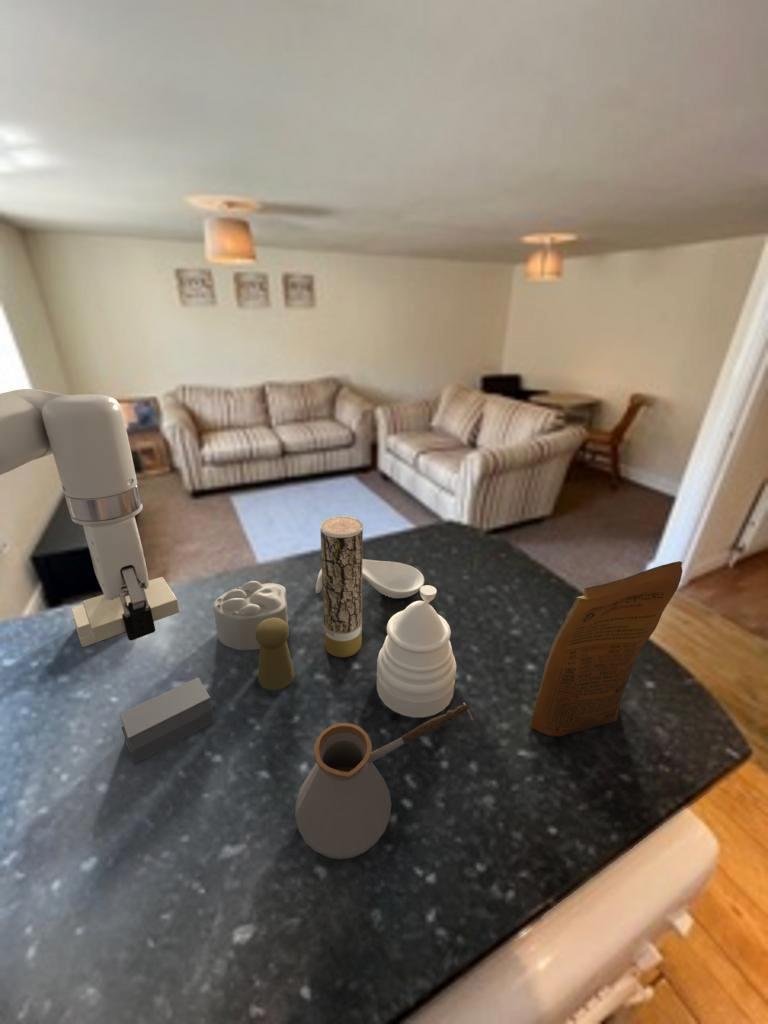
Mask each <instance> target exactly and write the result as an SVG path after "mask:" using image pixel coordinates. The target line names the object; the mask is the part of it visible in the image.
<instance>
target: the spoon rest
mask: <svg viewBox="0 0 768 1024" xmlns="http://www.w3.org/2000/svg"><path fill="white" fill-rule="evenodd" d="M362 579H364V580H366V581H367V582H368V583H369V585H371V587H373V588H374V589H375V590H376V591H377V592H378V593H379V594H381V595H383V596H385V597H387V596H388V597H387V598H390V597H391V598H390V599H405V598H408V597H411V596H414V595H415V594H417V593H418V592H420V588H421V587H422V586H424V585H425V576H424V575H423V573H422V572H421V571H420V570H419V569H417V568H416V567H414V566H412V565H409V564H406V563H403V562H398V561H385V560H376V559H375V560H374V559H364V558H362ZM322 590H323V587H322V568H321V569H320V570H319V572H318V575H317V579H316V583H315V590H314V591H315V593H316V594H319V593H321V591H322Z"/></svg>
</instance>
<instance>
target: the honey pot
mask: <svg viewBox="0 0 768 1024" xmlns="http://www.w3.org/2000/svg"><path fill="white" fill-rule="evenodd" d="M437 591H438V590H437V587H435V586H433V585H429V584H424V585H423V586H422V587H421V588H420V590H419V594H420V598H421V599H422V600H416V601H413V602H411V603H410V604H409V605H407V606H406V607H405V609H403V610H400V611H398V612H396V613H394V614H393V615H392V616H391V617H390V619H389V620H388V622H387V625H386V634H387V635H386V636H385V639H384V641H383V645H382V647H381V648H380V650H379V652H378V656H377V659H376V663H377V664H376V692H377V694H378V697H379V699H380V700H381V701H382V703H383V704H384V706H386V707H387V708H389V709H390V710H392V711H393V712H394V713H397V714H400V715H401V716H405V717H409V718H427V717H431V716H435V715H437V714H439V713H441V712H443V711H444V710H445V709H446V708H447V707H449V705H450V704H451V701H452V699H453V697H454V691H455V684H456V683H455V682H456V676H457V675H456V673H457V662H456V661H457V660H456V658H455V655H454V652H453V648H452V643H451V641H450V639H451V635H452V631H451V627H450V625H449V623H448V622H447V620H446V619H445V618H444V617H443V616H442V615H440V614H438V612H437V611H436V610H435V609H434V607H433V606H432V605H431V604H430V603H431V601H433V600H434V599H435V597H436V595H437Z"/></svg>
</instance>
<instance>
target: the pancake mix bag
mask: <svg viewBox="0 0 768 1024" xmlns="http://www.w3.org/2000/svg"><path fill="white" fill-rule="evenodd" d="M683 572H684V571H683V561H679V560H678V561H673V562H669V563H666V564H661V565H659V566H655V567H652V568H649V569H645V570H643V571H640V572H638V573H634V574H633V575H630V576H627V577H624V578H620V579H617V580H613V581H609V582H606V583H603V584H597V585H592V586H589V587H584V591H583V595H581V596H580V595H579V596H576V597H575V599H574V601H573V604H572V605H571V607H570V609H569V611H568V613H567V614H566V616H565V619H564V621H563V623H562V624H561V626H560V627H559V629H558V632H557V633H556V635H555V637H554V640H553V642H552V644H551V646H550V650H549V653H548V656H547V659H546V662H545V664H544V669H543V674H542V676H541V683H540V686H539V690H538V693H537V696H536V701H535V705H534V712H533V715H532V718H531V721H530V722H529V725H528V727H529V728H531V729H533V730H536V731H537V732H540V733H542V734H543V735H546V736H548V737H549V736H550V737H557V738H558V737H559V738H560V737H563V736H564V737H565V736H568V735H571V734H575V733H579V732H584V731H585V730H586V729H587V730H590V729H593V728H596V727H597V728H598V727H600V725H601V726H606V725H610V724H613V723H612V722H614V723H616V721H617V719H618V717H619V714H620V713H619V712H620V707H621V702H622V699H623V696H624V693H625V690H626V687H627V684H628V681H629V679H630V676H631V674H632V671H633V668H634V665H635V663H636V661H637V658H638V655H639V653H640V651H641V650H642V648H643V647H644V646H645V644H646V643H647V641H648V640H649V639H650V638H651V636H652V635H653V633H654V632H655V630H656V629H657V626H658V625H659V622H660V620H661V617H662V615H663V613H664V611H665V609H666V608H667V606H668V604H669V603H670V601H671V600H672V599H673V597H674V595H675V594H676V592H677V590H678V588H679V585H680V583H681V580H682V576H683ZM609 723H610V724H609ZM605 724H606V725H605Z"/></svg>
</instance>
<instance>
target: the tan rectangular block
mask: <svg viewBox="0 0 768 1024" xmlns="http://www.w3.org/2000/svg"><path fill="white" fill-rule="evenodd" d="M70 610H71V613H72V616H73V618H72V621H73V623H74V627H75V631H76V633H77V636H78V639H79V642H80V645H81V648H85V647H89V646H92V645H94V644H96V643H99V642H101V641H104V640H106V639H104V640H101V641H98V642H96V641H95V638H94V635H93V633H92V630H91V627H90V624H89V621H88V618H87V615H86V612H85V608H84V605H83V604H81V605H78V606H74V607H72V608H70ZM124 633H125V632H123V633H122V634H124ZM112 637H114V636H112ZM112 637H109V638H108V639H110V638H112Z"/></svg>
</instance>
